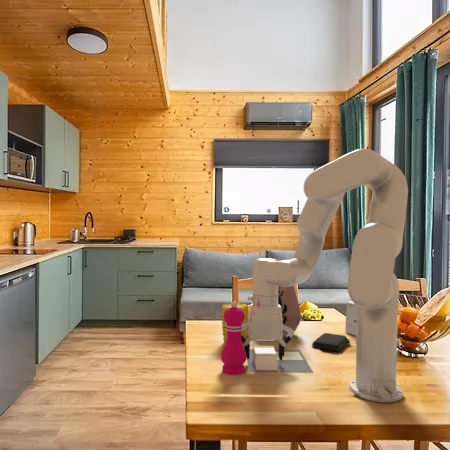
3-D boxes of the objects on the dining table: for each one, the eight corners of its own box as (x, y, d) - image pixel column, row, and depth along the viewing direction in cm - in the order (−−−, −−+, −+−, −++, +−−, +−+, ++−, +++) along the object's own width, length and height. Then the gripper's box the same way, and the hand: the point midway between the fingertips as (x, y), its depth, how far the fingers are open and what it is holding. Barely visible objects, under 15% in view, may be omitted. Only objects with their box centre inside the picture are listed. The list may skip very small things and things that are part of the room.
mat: (313, 374, 108) (313, 372, 108) (249, 373, 108) (249, 371, 108) (299, 351, 128) (299, 349, 128) (245, 350, 128) (245, 349, 128)
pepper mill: (224, 378, 104) (225, 304, 104) (217, 369, 111) (218, 299, 111) (249, 376, 106) (250, 303, 106) (241, 366, 113) (242, 298, 113)
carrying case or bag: (342, 355, 125) (352, 344, 138) (342, 346, 125) (352, 335, 138) (310, 350, 131) (323, 339, 143) (310, 341, 131) (323, 331, 143)
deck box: (277, 370, 109) (277, 356, 109) (255, 370, 109) (256, 355, 109) (273, 359, 119) (273, 346, 119) (253, 358, 119) (253, 345, 119)
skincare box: (344, 332, 152) (345, 301, 152) (353, 331, 154) (353, 300, 154) (356, 336, 146) (357, 304, 146) (365, 335, 148) (365, 303, 149)
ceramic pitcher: (247, 337, 143) (248, 270, 143) (264, 324, 162) (265, 265, 162) (294, 344, 136) (295, 273, 136) (306, 329, 155) (307, 267, 155)
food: (238, 356, 127) (218, 350, 135) (261, 341, 135) (241, 336, 142) (229, 312, 125) (209, 308, 133) (253, 299, 133) (233, 296, 141)
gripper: (236, 302, 110) (235, 362, 110) (297, 303, 110) (295, 363, 110) (235, 297, 118) (234, 353, 118) (292, 298, 118) (291, 354, 118)
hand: (264, 358), depth 114 cm, fingers open, 9 cm apart
